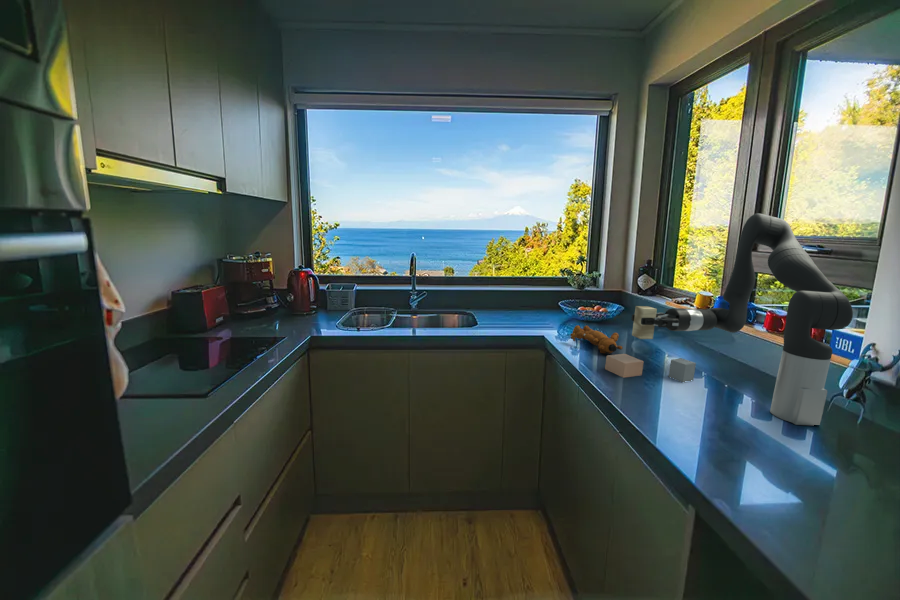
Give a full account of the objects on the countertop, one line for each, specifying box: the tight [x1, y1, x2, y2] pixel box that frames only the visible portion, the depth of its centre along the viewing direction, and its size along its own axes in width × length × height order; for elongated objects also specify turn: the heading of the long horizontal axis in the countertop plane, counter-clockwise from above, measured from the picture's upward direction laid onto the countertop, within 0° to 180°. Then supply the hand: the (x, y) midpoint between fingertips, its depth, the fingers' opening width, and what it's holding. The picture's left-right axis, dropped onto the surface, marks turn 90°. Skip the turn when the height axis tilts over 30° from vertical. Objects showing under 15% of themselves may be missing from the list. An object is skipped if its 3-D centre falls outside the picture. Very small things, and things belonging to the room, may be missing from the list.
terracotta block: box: [604, 353, 645, 378], centre depth 131 cm, size 8×8×5 cm
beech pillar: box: [631, 305, 658, 340], centre depth 130 cm, size 4×4×10 cm
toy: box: [570, 325, 623, 355], centre depth 161 cm, size 20×7×30 cm
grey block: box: [668, 357, 697, 383], centre depth 127 cm, size 5×5×6 cm
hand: (637, 319), depth 129 cm, fingers closed on beech pillar, 4 cm apart
